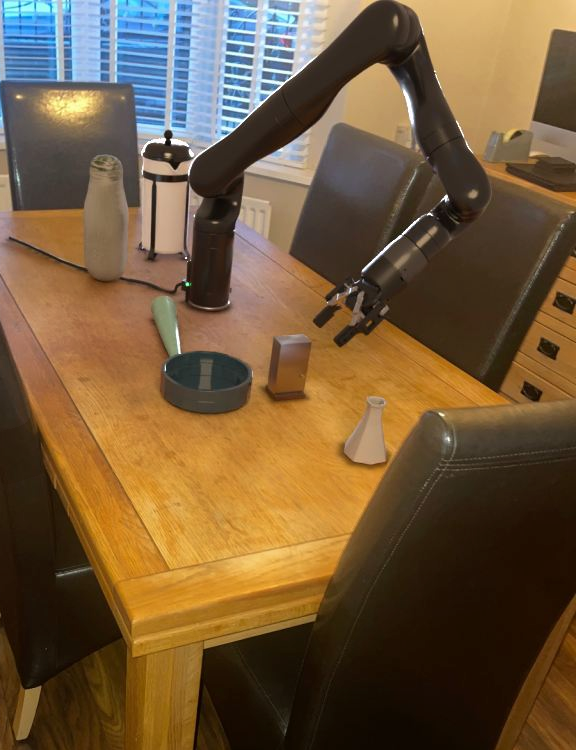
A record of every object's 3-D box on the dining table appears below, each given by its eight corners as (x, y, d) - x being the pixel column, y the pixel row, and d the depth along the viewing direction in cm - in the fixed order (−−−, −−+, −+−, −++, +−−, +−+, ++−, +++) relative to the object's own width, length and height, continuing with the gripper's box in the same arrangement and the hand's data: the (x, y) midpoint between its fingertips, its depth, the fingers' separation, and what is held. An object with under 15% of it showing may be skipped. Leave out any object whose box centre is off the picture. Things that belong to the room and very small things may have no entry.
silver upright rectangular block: (294, 385, 149) (302, 332, 143) (305, 397, 146) (313, 343, 139) (265, 388, 148) (271, 334, 141) (275, 400, 144) (282, 346, 138)
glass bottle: (78, 282, 187) (74, 156, 171) (98, 269, 195) (96, 148, 178) (115, 290, 184) (115, 162, 168) (134, 277, 192) (135, 154, 176)
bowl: (142, 395, 142) (142, 370, 140) (196, 367, 153) (197, 343, 150) (215, 426, 135) (217, 400, 132) (266, 394, 146) (269, 369, 143)
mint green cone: (166, 348, 146) (151, 295, 168) (165, 375, 150) (150, 320, 171) (195, 348, 147) (175, 295, 169) (193, 375, 151) (174, 319, 172)
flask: (338, 442, 133) (348, 389, 127) (379, 442, 134) (392, 390, 128) (348, 465, 127) (360, 411, 121) (392, 465, 128) (405, 411, 122)
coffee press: (204, 252, 211) (212, 130, 193) (171, 266, 200) (177, 139, 182) (151, 238, 218) (155, 119, 200) (117, 252, 207) (117, 127, 189)
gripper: (364, 241, 141) (298, 306, 145) (405, 268, 131) (332, 337, 134) (384, 269, 146) (319, 331, 150) (425, 297, 135) (354, 363, 139)
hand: (325, 334), depth 142 cm, fingers open, 8 cm apart
